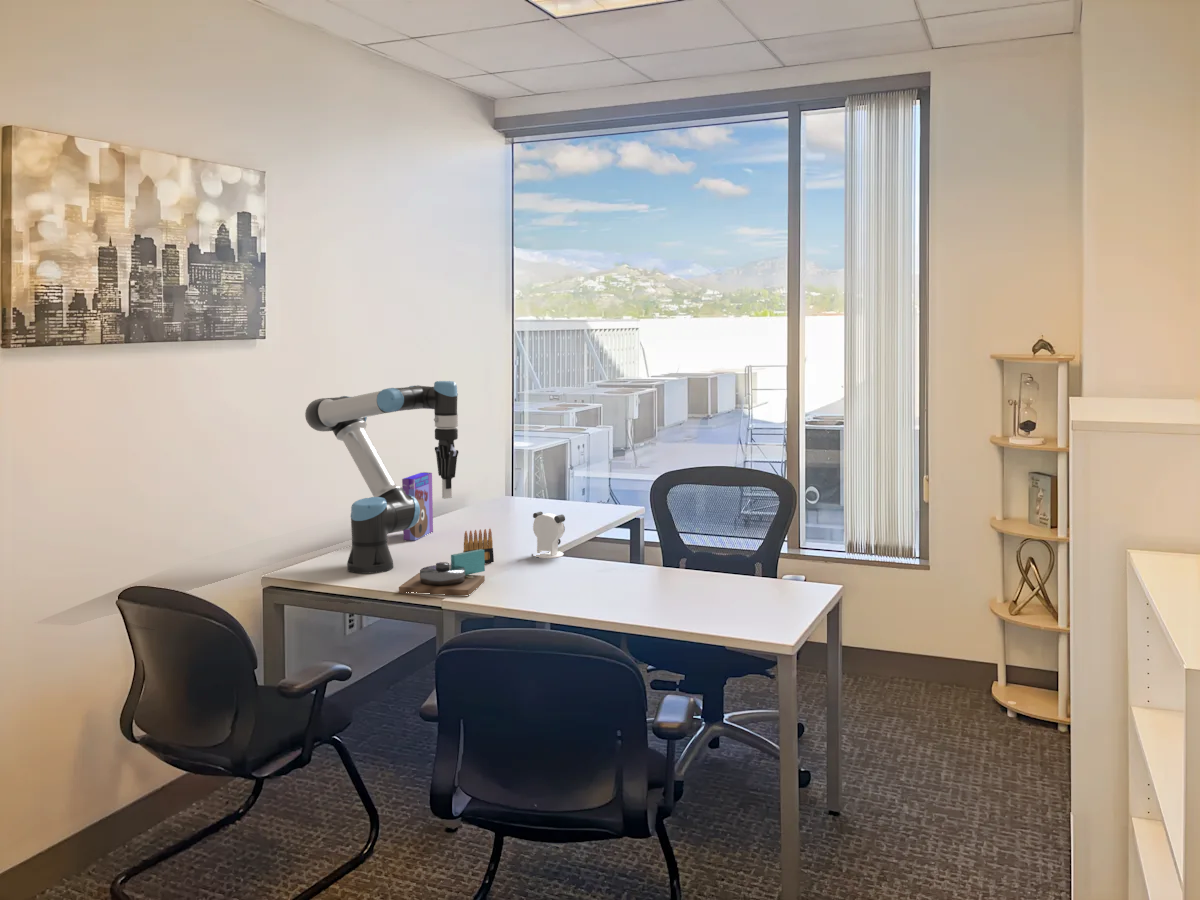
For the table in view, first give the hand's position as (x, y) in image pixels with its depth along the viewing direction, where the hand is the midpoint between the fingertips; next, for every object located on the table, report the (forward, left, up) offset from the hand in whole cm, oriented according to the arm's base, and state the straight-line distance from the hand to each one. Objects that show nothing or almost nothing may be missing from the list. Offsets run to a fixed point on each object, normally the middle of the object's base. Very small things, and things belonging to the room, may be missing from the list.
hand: (446, 497), depth 335 cm
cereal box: (-28, +50, -25) cm, 62 cm away
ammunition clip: (+8, +9, -25) cm, 27 cm away
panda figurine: (+29, +26, -25) cm, 46 cm away
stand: (+6, -24, -24) cm, 34 cm away
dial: (+9, -20, -22) cm, 31 cm away
